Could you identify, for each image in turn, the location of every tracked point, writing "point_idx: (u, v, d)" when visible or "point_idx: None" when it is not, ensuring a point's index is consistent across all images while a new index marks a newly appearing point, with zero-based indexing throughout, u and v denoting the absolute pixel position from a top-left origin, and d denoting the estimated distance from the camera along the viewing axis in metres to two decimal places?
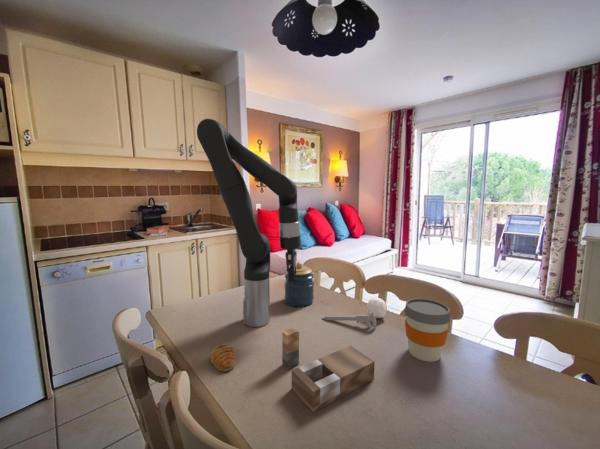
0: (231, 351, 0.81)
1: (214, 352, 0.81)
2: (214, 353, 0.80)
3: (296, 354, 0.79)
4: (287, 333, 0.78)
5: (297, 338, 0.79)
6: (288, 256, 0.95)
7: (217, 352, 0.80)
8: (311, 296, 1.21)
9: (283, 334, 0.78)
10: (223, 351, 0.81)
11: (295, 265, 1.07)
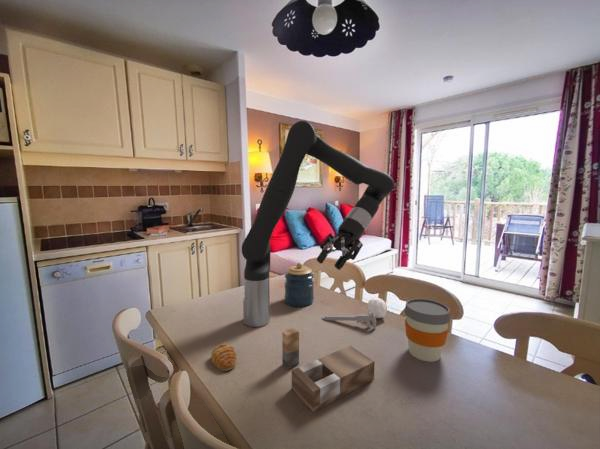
0: (232, 351, 0.82)
1: (215, 352, 0.81)
2: (215, 353, 0.81)
3: (296, 354, 0.79)
4: (287, 333, 0.78)
5: (297, 338, 0.79)
6: (359, 242, 0.82)
7: (218, 352, 0.80)
8: (311, 296, 1.21)
9: (283, 334, 0.78)
10: (224, 351, 0.81)
11: None
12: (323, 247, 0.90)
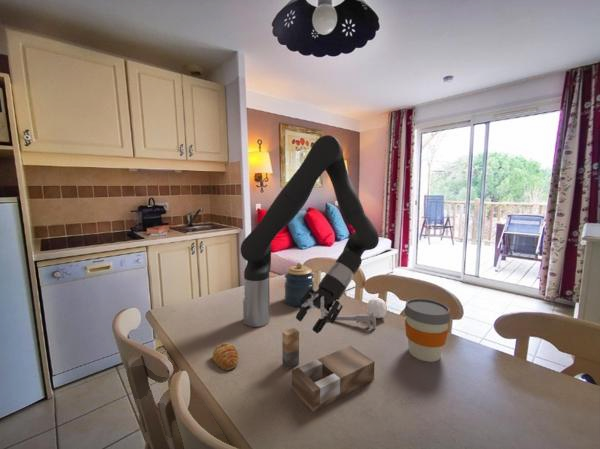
0: (234, 349, 0.82)
1: (217, 351, 0.82)
2: (217, 352, 0.81)
3: (296, 354, 0.79)
4: (287, 333, 0.78)
5: (297, 338, 0.79)
6: (339, 304, 0.79)
7: (220, 351, 0.81)
8: None
9: (283, 334, 0.78)
10: (225, 350, 0.81)
11: None
12: (303, 303, 0.87)
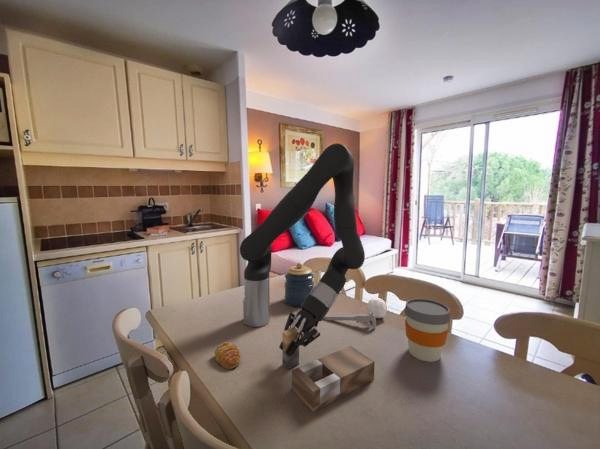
0: (235, 348, 0.83)
1: (218, 350, 0.82)
2: (219, 351, 0.81)
3: (296, 354, 0.79)
4: (287, 333, 0.78)
5: None
6: (315, 333, 0.76)
7: (222, 350, 0.81)
8: None
9: (283, 334, 0.78)
10: (227, 349, 0.82)
11: None
12: None
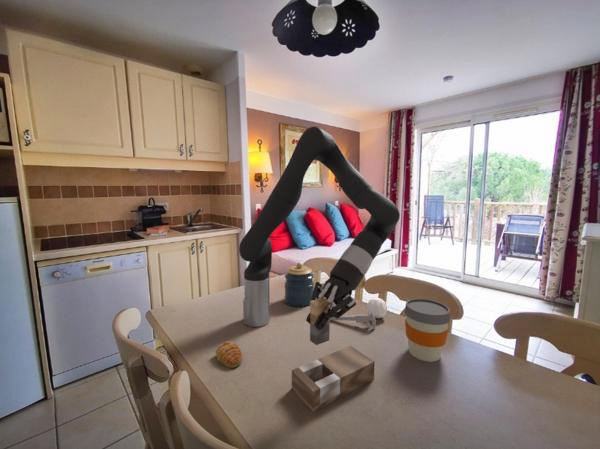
0: (237, 348, 0.83)
1: (220, 350, 0.82)
2: (220, 350, 0.82)
3: (326, 328, 0.67)
4: (316, 302, 0.65)
5: None
6: (351, 302, 0.63)
7: (224, 350, 0.82)
8: (311, 296, 1.21)
9: (311, 304, 0.66)
10: (229, 348, 0.82)
11: None
12: None
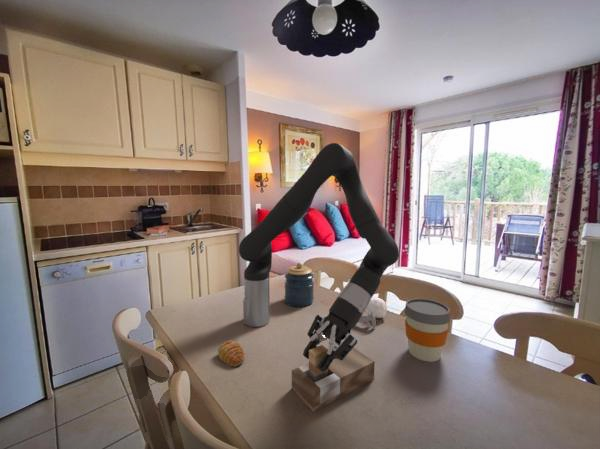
0: (239, 346, 0.84)
1: (222, 349, 0.83)
2: (222, 350, 0.82)
3: (325, 376, 0.68)
4: (315, 352, 0.67)
5: None
6: (353, 340, 0.65)
7: (226, 349, 0.82)
8: (311, 296, 1.21)
9: (310, 353, 0.67)
10: (231, 347, 0.83)
11: None
12: (312, 336, 0.71)
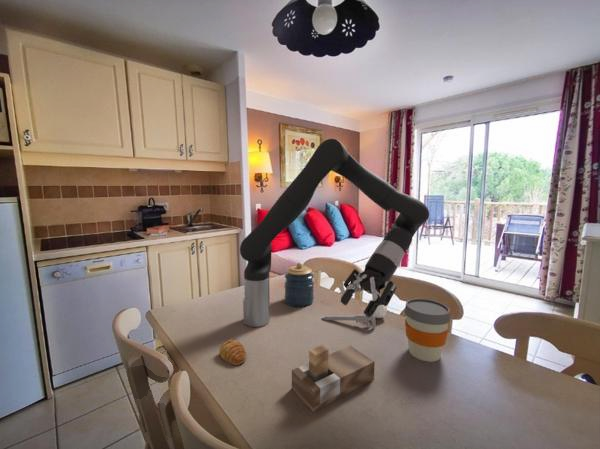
0: (240, 345, 0.84)
1: (224, 348, 0.83)
2: (224, 349, 0.83)
3: (325, 376, 0.68)
4: (315, 352, 0.67)
5: (326, 358, 0.68)
6: (393, 285, 0.70)
7: (227, 348, 0.83)
8: (311, 296, 1.21)
9: (310, 353, 0.68)
10: (233, 346, 0.83)
11: (352, 295, 0.78)
12: (348, 286, 0.78)
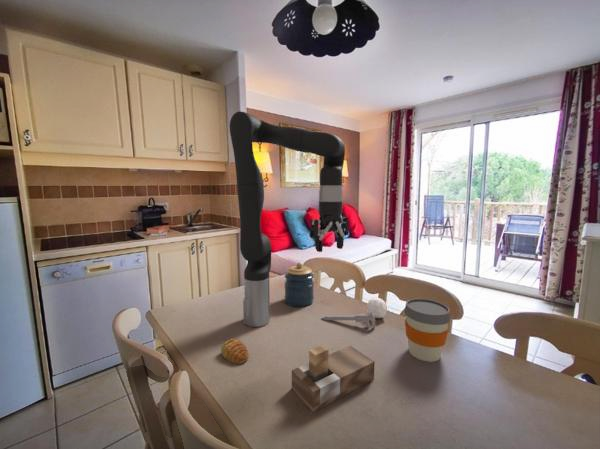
0: (242, 344, 0.85)
1: (226, 347, 0.84)
2: (226, 348, 0.83)
3: (325, 376, 0.68)
4: (315, 352, 0.67)
5: (326, 358, 0.68)
6: (312, 221, 0.87)
7: (230, 347, 0.83)
8: (311, 296, 1.21)
9: (310, 353, 0.68)
10: (235, 345, 0.84)
11: (341, 238, 0.92)
12: (339, 233, 0.94)
